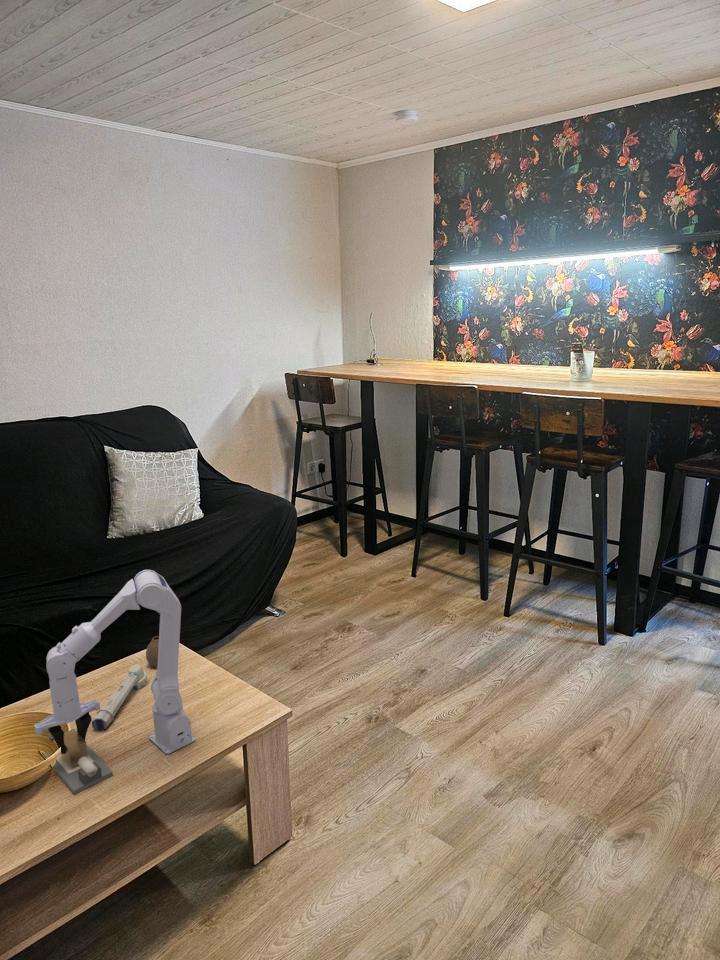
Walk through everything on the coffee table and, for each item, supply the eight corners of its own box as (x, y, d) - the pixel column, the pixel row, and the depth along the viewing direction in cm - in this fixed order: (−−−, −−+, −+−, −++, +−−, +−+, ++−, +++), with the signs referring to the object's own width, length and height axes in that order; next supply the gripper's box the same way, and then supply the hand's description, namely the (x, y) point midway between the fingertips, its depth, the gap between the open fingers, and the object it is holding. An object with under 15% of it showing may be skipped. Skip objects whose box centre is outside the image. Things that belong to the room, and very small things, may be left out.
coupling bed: (112, 775, 156) (110, 757, 155) (74, 794, 150) (71, 776, 149) (74, 734, 172) (72, 718, 171) (38, 750, 166) (35, 734, 165)
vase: (144, 662, 207) (142, 636, 205) (167, 656, 210) (165, 630, 208) (149, 672, 201) (147, 645, 199) (173, 666, 204) (170, 640, 202)
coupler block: (88, 759, 159) (85, 741, 158) (71, 767, 157) (68, 749, 155) (76, 746, 164) (73, 728, 163) (59, 753, 162) (57, 735, 160)
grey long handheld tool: (87, 718, 172) (130, 657, 195) (92, 738, 175) (134, 676, 198) (106, 719, 172) (147, 658, 195) (111, 740, 174) (151, 677, 197)
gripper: (88, 678, 164) (95, 727, 168) (26, 702, 155) (34, 753, 158) (101, 689, 159) (107, 739, 163) (37, 714, 150) (45, 767, 153)
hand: (72, 747), depth 160 cm, fingers closed on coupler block, 4 cm apart
